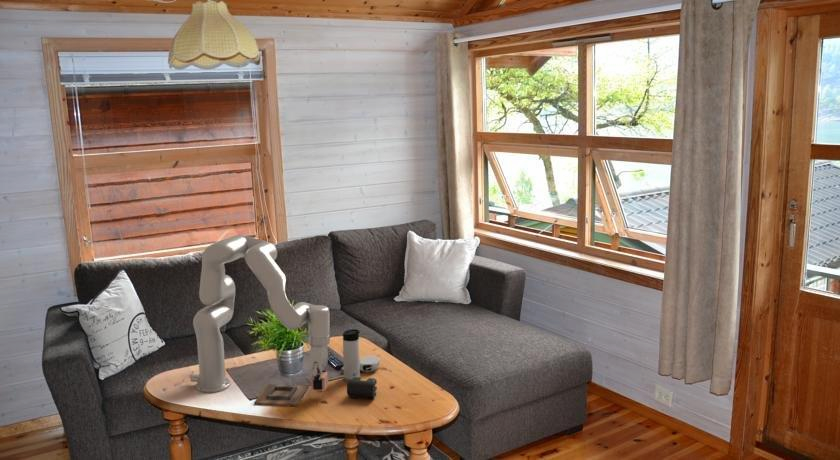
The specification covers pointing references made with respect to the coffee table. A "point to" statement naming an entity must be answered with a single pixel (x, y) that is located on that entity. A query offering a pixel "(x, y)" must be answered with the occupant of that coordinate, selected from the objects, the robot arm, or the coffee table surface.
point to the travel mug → (351, 354)
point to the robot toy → (368, 363)
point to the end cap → (362, 388)
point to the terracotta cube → (324, 381)
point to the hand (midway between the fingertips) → (319, 385)
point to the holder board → (281, 395)
